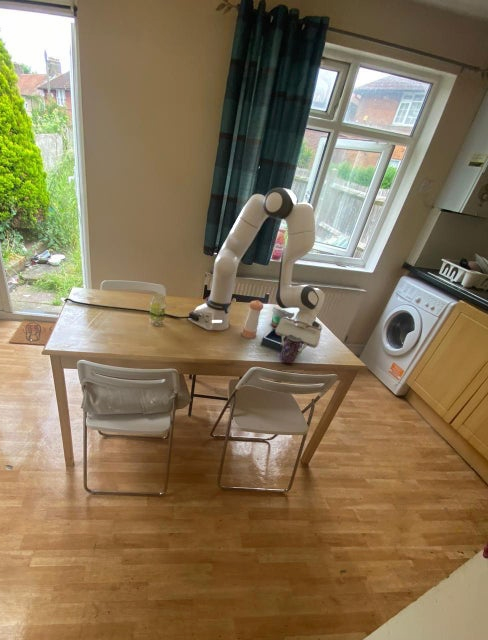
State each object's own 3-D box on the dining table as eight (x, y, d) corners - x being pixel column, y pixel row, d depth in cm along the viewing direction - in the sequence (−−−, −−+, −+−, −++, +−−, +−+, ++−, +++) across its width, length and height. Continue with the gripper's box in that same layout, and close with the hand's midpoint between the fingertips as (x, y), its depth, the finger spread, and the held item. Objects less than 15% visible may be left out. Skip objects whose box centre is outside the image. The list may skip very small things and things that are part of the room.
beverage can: (276, 357, 159) (283, 335, 152) (287, 355, 162) (295, 333, 155) (285, 365, 155) (293, 342, 147) (297, 363, 157) (305, 340, 150)
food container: (265, 326, 187) (270, 309, 181) (268, 322, 192) (273, 306, 185) (286, 333, 183) (292, 316, 177) (289, 329, 188) (295, 312, 182)
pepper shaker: (246, 330, 180) (255, 296, 168) (257, 335, 177) (267, 301, 165) (239, 334, 175) (247, 299, 163) (250, 339, 172) (260, 304, 160)
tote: (260, 344, 169) (263, 337, 166) (270, 334, 179) (273, 327, 176) (293, 357, 163) (296, 349, 160) (302, 346, 173) (304, 339, 170)
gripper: (282, 312, 155) (269, 338, 154) (325, 327, 148) (312, 354, 147) (282, 318, 161) (270, 343, 160) (324, 332, 154) (311, 358, 153)
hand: (290, 348), depth 154 cm, fingers closed on beverage can, 7 cm apart
